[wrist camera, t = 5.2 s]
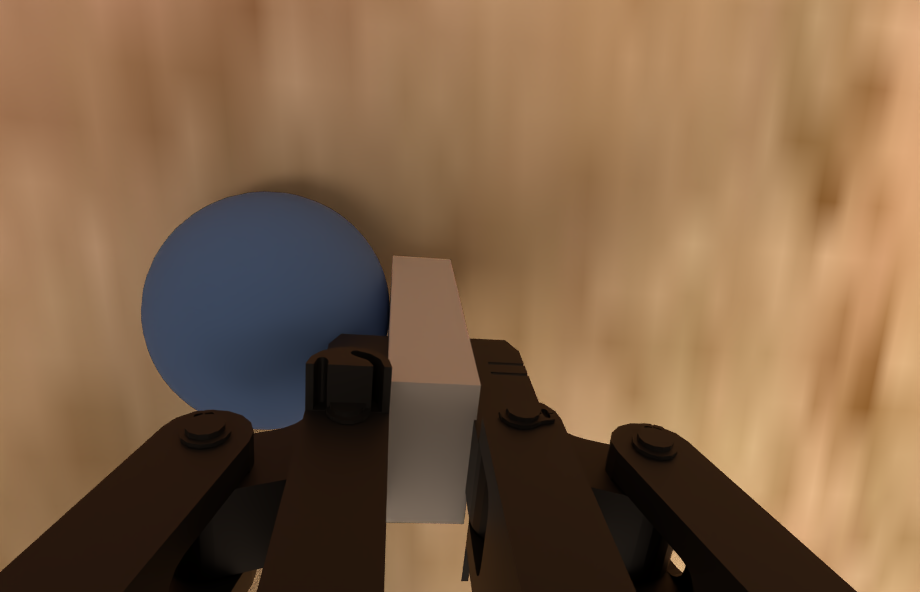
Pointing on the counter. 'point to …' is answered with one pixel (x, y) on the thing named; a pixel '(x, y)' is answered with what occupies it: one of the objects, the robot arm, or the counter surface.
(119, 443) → the counter surface
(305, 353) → the ball
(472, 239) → the counter surface
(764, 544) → the robot arm
